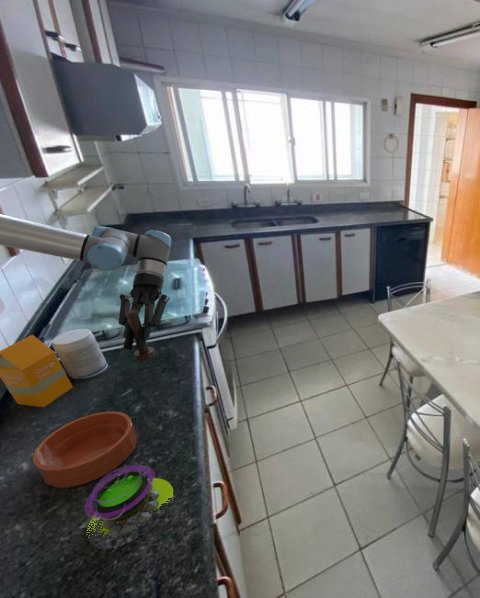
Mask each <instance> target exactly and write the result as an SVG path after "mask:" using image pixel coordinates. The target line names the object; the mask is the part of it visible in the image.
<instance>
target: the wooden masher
mask: <svg viewBox="0 0 480 598" xmlns="http://www.w3.org/2000/svg"><path fill="white" fill-rule="evenodd" d="M126 314H127V317H128V320H129V323H130V326H131V329H132V333H133V336H134V343H135V345H136V344H137V339H138V335H139V330H140V326H143V325H142V321H141V318H140V314H139V315H138V311H137V310H131V309H130V311H128V312H126ZM147 341H148V340H146V341H145V346H144V349H142V350H141V349H138V348H137V350H135V351H134V353H133V355H134V358H135V361H137V362H147V361H149V360H151V359H153V358H154V357H155V356H156V351H155V348H154V347H151V346H148V342H147Z"/></svg>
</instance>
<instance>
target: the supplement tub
mask: <svg viewBox="0 0 480 598" xmlns="http://www.w3.org/2000/svg"><path fill="white" fill-rule="evenodd" d="M51 345H52V348H53V349H54V352H55V354H57V355H56V356H57V357H58V359H59V361H60V363H61V365H63V368H64V370H65V372H66V373H67V375H68V376H69V377H70V378H71V379H75V380H79V379H80V380H83V379H88V378H92V377H95V376H98V375H100V374H102V373H104V372H105V371H106V370H107V368H108V366H109V365H108V362H107V360H106V358H105V356H104V353H103V351H102V349H101V348H100V346H99V343H98V341H97V339H96V337H95V335H94V333H93V332H92V330H90V329H88V328H76V329H73V330H68V331H66V332H63V333H61V334H59V335H57V336H55V337H54V338H53V339H52V340H51Z"/></svg>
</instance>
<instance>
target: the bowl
mask: <svg viewBox="0 0 480 598" xmlns="http://www.w3.org/2000/svg"><path fill="white" fill-rule="evenodd" d="M137 445H138V434H137V432H136V428H135V426H134V424H133V420H132V418H131V417H130V416H129V415H128V414H127V413H124V412H121V411H109V410H108V411H101V412H95V413H91V414H89V415H85V416H81V417H78V418H77V419H75V420H72V421H70V422H68V423H66V424H64V425H62V426H61V427H59V428H58V429H56V430H54V431H53V432H51V433H50V434H49V435H48V436H46V438H44V439H43V440H41V442H40V444H39V445H38V446H37V448H36V449H35V450H34V452H33V457H32V462H33V463H34V465H35V467H36V469H37V471H38V472H39V474H40V476H41V478H42V480H43V481H44V483H45V484H46V485H48V486H51V487H54V488H64V489H66V488H67V489H68V488H73V487H77V486H82V485H85V484H87V483H90V482H92V481H95V480H97V479H100V478H102V477H105V476H106V475H107V474H110V473H111V472H112V471H114V470H116V469H117V468H118V467H119V466H121V465H122V464H123V463H124V462H126V460H127V459H128V458H129V457H130V456H131V454H132V453H133V452H134V451H135V449H136V447H137Z"/></svg>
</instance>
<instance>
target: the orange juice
mask: <svg viewBox="0 0 480 598" xmlns="http://www.w3.org/2000/svg"><path fill="white" fill-rule="evenodd" d="M56 354H57V353H56V352H55V350H53V349H52V348H50V347H49V346H47V344H45V343H44V342H43V341H41V340H40V339H39V338H38V337H36V336H35V335H34V334H31V335H29V336H27V337H25V338H22V339H21V340H19V341H17V342H15V343H13V344H10V345H9V346H6V347H5V348H3V349H1V350H0V379H1V381H2V382H3V384H4V385H5V387H6V388H7V391H8V392H9V394H11V396H12V398H13V400H14V401H15V402H16V404H17V405H22V406H23V405H24V406H30V407H39V408H45V407H46V406H47V405H50V403H52V402H54V401H55V400H57V399H58V398H60V397H62V395H64V394H66V393H68V391H70V390H71V389H73V388H74V386H73V384H72V382H71V381H70V379H69V377H68V376H67V375H68V374H67V372H66V370H65V368H64V367H63V366H62V363H61V361H60V359H59V357H58V355H56Z"/></svg>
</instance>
